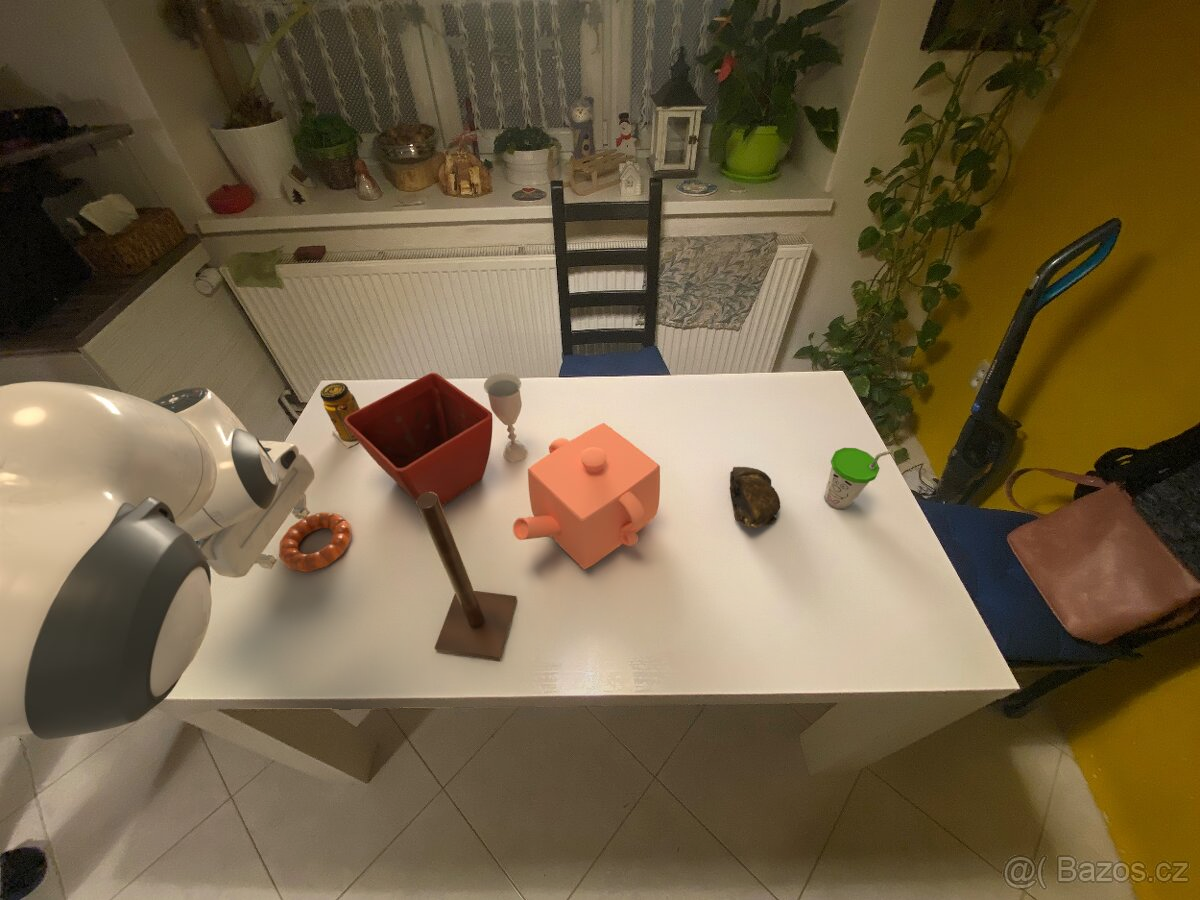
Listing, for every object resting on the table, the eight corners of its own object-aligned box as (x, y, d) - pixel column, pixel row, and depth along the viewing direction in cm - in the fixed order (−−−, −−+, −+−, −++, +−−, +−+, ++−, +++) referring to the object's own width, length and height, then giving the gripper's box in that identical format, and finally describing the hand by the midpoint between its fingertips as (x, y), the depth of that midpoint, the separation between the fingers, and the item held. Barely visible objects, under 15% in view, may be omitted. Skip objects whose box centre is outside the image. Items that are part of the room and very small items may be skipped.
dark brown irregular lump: (718, 469, 102) (732, 445, 97) (759, 476, 103) (775, 453, 98) (730, 537, 90) (747, 513, 85) (777, 544, 91) (796, 521, 86)
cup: (806, 497, 97) (831, 441, 86) (831, 478, 100) (858, 422, 89) (842, 523, 93) (873, 468, 82) (867, 502, 96) (899, 447, 85)
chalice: (537, 457, 105) (527, 389, 92) (507, 470, 103) (492, 402, 90) (523, 436, 110) (511, 368, 97) (493, 448, 107) (477, 380, 94)
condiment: (332, 432, 111) (309, 389, 103) (368, 413, 115) (349, 371, 107) (347, 449, 108) (325, 406, 99) (384, 429, 112) (365, 386, 103)
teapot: (565, 620, 80) (557, 559, 67) (488, 532, 92) (468, 466, 79) (673, 533, 92) (684, 466, 79) (592, 464, 103) (590, 397, 91)
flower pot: (452, 432, 111) (433, 369, 99) (508, 477, 101) (494, 414, 89) (372, 480, 101) (341, 417, 89) (426, 535, 92) (398, 473, 80)
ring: (332, 577, 86) (326, 569, 84) (270, 569, 87) (262, 560, 85) (364, 522, 94) (359, 513, 92) (306, 515, 95) (300, 506, 93)
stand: (500, 661, 76) (454, 542, 53) (436, 652, 77) (365, 531, 54) (517, 600, 83) (483, 471, 60) (458, 592, 84) (403, 463, 61)
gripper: (213, 548, 65) (266, 600, 75) (301, 437, 79) (336, 493, 89) (169, 543, 65) (228, 595, 75) (264, 433, 79) (303, 489, 89)
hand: (287, 539), depth 82 cm, fingers open, 8 cm apart
